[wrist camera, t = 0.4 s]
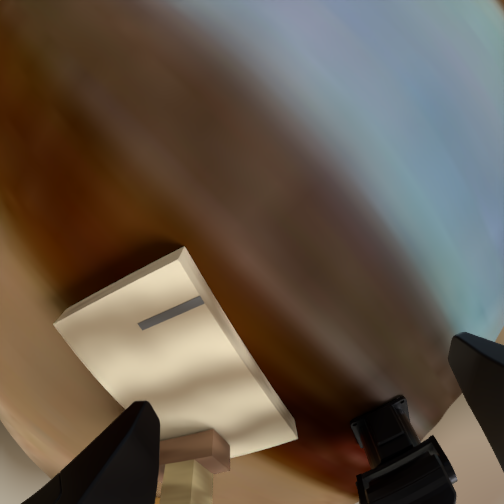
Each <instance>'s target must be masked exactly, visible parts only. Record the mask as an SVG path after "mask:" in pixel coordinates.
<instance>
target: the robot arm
mask: <svg viewBox="0 0 504 504" xmlns="http://www.w3.org/2000/svg"><path fill="white" fill-rule="evenodd" d="M448 360H449V364H450V366H451V368H452V371H453V373H454V375H455V377H456V379H457V381H458V383H459V386H460V388H461V390H462V392H463V395H464V397H465V399H466V401H467V403H468V405H469V406H470V408H471V410H472V412H473V414H474V415H475V417H476V419H477V421H478V422H479V424H480V426H481V428H482V430H483V432H484V434H485V436H486V437H487V439H488V441H489V443H490V445H491V447H492V449H493V451H494V453H495V455H496V457H497V459H498V461H499V463H500V465H501V468H502V470H503V472H504V345H501V344H498V343H496V342H493V341H490V340H487V339H484V338H481V337H478V336H475V335H473V334H470V333H467V332H462V333H459V334H457V335H455V336H453V338H452V341H451V346H450V351H449V356H448ZM350 426H351V428H352V430H353V432H354V434H355V437H356V439H357V441H358V443H359V445H360V447H361V448H364V450H365V453H366V456H367V458H368V461H369V464H370V467H371V470H369V471H367V472H365V473H363V474H359V475H356V477H357V482H356V486H357V489H358V494H359V504H456V492H455V490H454V487H453V485H452V484H454V483H455V482H457V477H456V474H455V472H454V470H453V468H452V466H451V464H450V462H449V460H448V458H447V456H446V455H445V453H444V452H443V450H442V448H441V447H440V445H439V444H438V442H437V440H436V439H435V437H434V436H433V435H432V436H430V437H429V438H428V439H427V440H425V441H423V442H422V443H421V442H420V440H419V438H418V436H417V434H416V432H415V431H414V429H413V427H412V425H411V423H410V419H409V412H408V406H407V401H406V398H405V397H404V396H402V397H400V398H398V399H396V400H394V401H392V402H390V403H388V404H386V405H384V406H382V407H380V408H378V409H376V410H374V411H371V412H369V413H367V414H365V415H363V416H361V417H358V418H356V419H354V420H352V421H351V422H350ZM159 462H160V420H159V418H158V416H157V414H156V412H155V411H154V409H153V407H152V405H151V404H150V402H149V401H146V400H141V401H134V402H133V403H132V404H131V405H130V406H129V407H128V408H127V409H126V410H125V411H124V412H123V413H122V414H120V415H119V416H118V417H117V418H116V419H115V420H114V421H113V422H112V423H111V424H110V425H109V426H108V427H107V428H106V429H105V430H104V431H103V432H102V433H101V434H100V435H99V436H98V437H97V438H95V439H94V440H93V441H92V442H91V443H90V444H89V445H88V446H87V447H86V448H85V449H84V450H83V451H82V452H81V453H80V454H79V455H77V456H76V457H75V458H74V459H73V460H72V461H71V462H70V463H69V464H68V465H67V466H66V467H65V468H64V469H62V470H61V471H60V473H58V474H57V475H56V476H55V477H54V478H53V479H52V480H50V481H49V482H48V483H47V484H46V485H45V486H44V487H42V488H41V489H40V490H39V491H37V492H36V493H35V494H34V495H32V496H31V497H29V498H28V499H27V500H25V501H24V502H23V503H21V504H155V498H156V490H157V482H158V475H159Z"/></svg>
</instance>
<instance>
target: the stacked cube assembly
mask: <svg viewBox="0 0 504 504" xmlns="http://www.w3.org/2000/svg"><path fill="white" fill-rule="evenodd" d="M227 471H230V445H229V444H228V443H227V442H226V441H225V440H224V439H223V438H222V437H221V436H220V435H219V434H218V433H217V432H216V431H215V430H214V429H211V430H207V431H203V432H199V433H195V434H191V435H186V436H182V437H177V438H173V439H168V440H163V441H160V462H159V475H158V482H161V483H162V489H161V496H160V502H159V504H212V490H213V474H217V473H222V472H227Z"/></svg>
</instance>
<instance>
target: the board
mask: <svg viewBox="0 0 504 504" xmlns="http://www.w3.org/2000/svg"><path fill="white" fill-rule="evenodd" d="M53 325H54V326H55V328H56V329H57V330H58V332H59V333H60V334H61V336H62V337H63V338H64V340H65V341H66V342H67V344H68V345H69V346H70V348H71V349H72V350H73V351H74V353H75V354H76V355H77V356H78V358H79V359H80V360H81V361H82V363H83V364H84V365H85V366H86V367H87V369H88V370H89V371H90V372H91V373H92V374H93V375H94V377H95V378H96V379H97V380H98V381H99V382H100V383H101V385H102V386H103V387H104V388H105V389H106V390H107V391H108V392H109V393H110V394H111V395H112V396H113V397H114V399H115V400H116V401H117V402H118V403H119V404H120V405H121V406H122V407H123V408H124V409H125V410H126V409H127V408H128V407H129V406H130V405H131V404H132V403H133V402H134V401H141V400H146V401H149V402H150V404H151V405H152V407H153V409H154V411H155V412H156V414H157V416H158V418H159V420H160V441H163V440H168V439H173V438H177V437H182V436H186V435H191V434H195V433H199V432H203V431H207V430H211V429H214V430H215V431H216V432H217V433H218V434H219V435H220V436H221V437H222V438H223V439H224V440H225V441H226V442H227V443H228V444H229V445H230V458H233V457H237V456H241V455H245V454H249V453H253V452H256V451H260V450H264V449H267V448H270V447H274V446H277V445H280V444H283V443H286V442H290V441H293V440H296V439H298V435H297V430H296V425H295V420H294V418H293V417H292V415H291V414H290V413H289V411H288V410H287V408H286V407H285V405H284V404H283V402H282V401H281V399H280V398H279V397H278V395H277V394H276V392H275V391H274V389H273V388H272V386H271V385H270V383H269V382H268V380H267V379H266V377H265V376H264V374H263V373H262V371H261V370H260V368H259V367H258V365H257V364H256V362H255V360H254V359H253V357H252V356H251V354H250V353H249V351H248V350H247V348H246V347H245V345H244V343H243V342H242V340H241V339H240V337H239V336H238V334H237V332H236V331H235V329H234V328H233V326H232V324H231V323H230V321H229V320H228V318H227V316H226V315H225V313H224V312H223V310H222V308H221V307H220V305H219V303H218V302H217V300H216V298H215V297H214V295H213V294H212V292H211V290H210V289H209V287H208V285H207V284H206V282H205V280H204V278H203V277H202V275H201V273H200V272H199V270H198V268H197V267H196V265H195V263H194V261H193V260H192V258H191V256H190V255H189V253H188V251H187V249H186V248H185V246H184V247H182V248H180V249H178V250H176V251H174V252H172V253H170V254H168V255H166V256H164V257H162V258H160V259H158V260H156V261H155V262H153V263H151V264H149V265H147V266H145V267H143V268H141V269H139V270H137V271H135V272H133V273H132V274H130V275H128V276H126V277H124V278H122V279H120V280H118V281H117V282H115V283H113V284H111V285H109V286H107V287H105V288H104V289H102V290H100V291H98V292H96V293H94V294H92V295H91V296H89V297H87V298H85V299H83V300H82V301H80V302H78V303H76V304H74V305H72V306H71V307H69V308H67V309H66V310H65V311H64V312H63V313H62V315H61V316H60V317H59V318H58V319H57V320H56V321H55V323H54V324H53Z"/></svg>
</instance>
